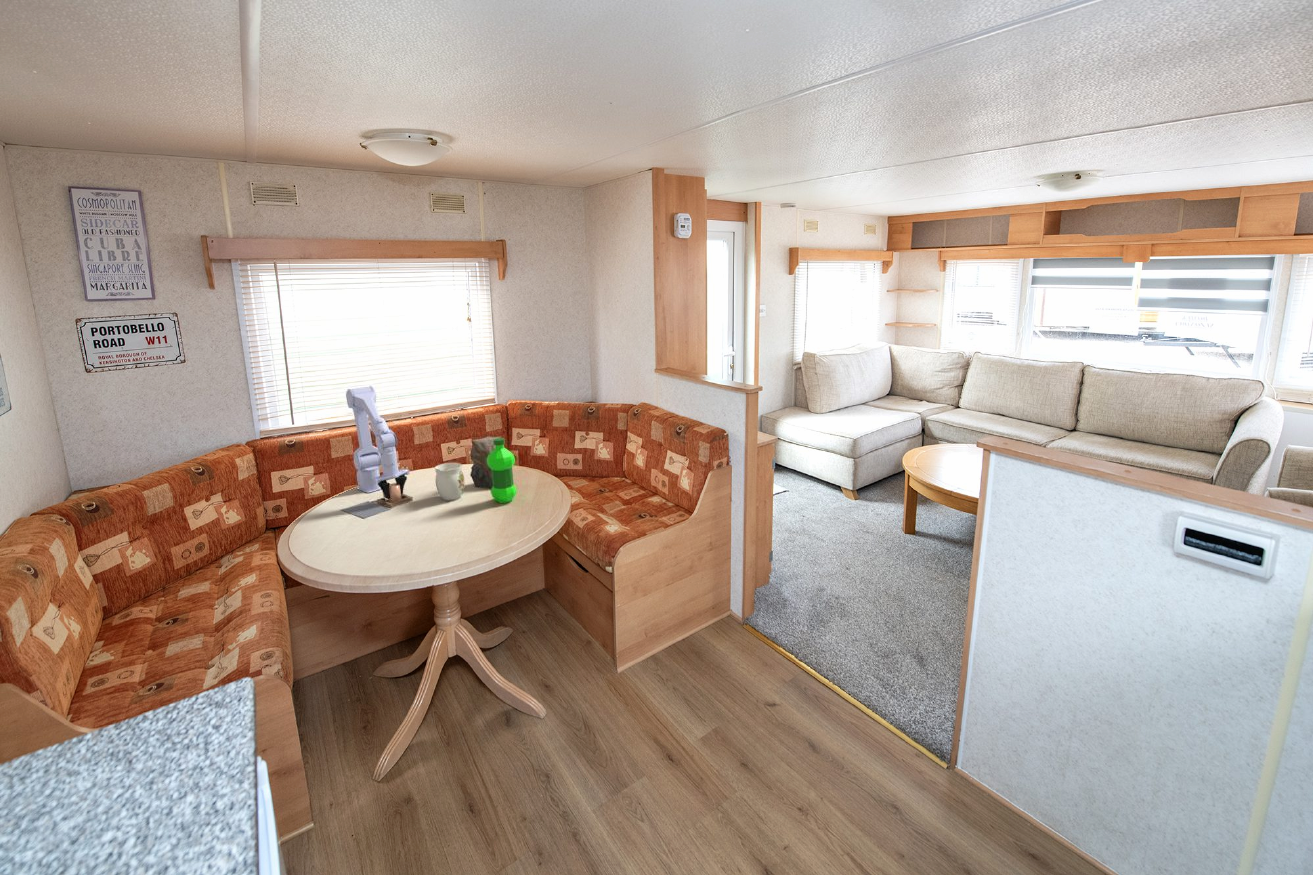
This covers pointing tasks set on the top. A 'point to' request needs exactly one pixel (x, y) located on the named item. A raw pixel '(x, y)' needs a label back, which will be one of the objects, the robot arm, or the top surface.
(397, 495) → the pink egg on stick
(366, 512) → the mat
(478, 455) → the owl
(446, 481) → the pitcher
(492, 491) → the plastic bottle
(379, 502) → the holder
